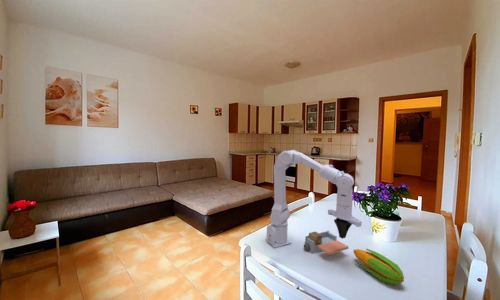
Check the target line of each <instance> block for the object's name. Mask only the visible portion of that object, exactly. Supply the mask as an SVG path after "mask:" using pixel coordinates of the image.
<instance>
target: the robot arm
mask: <svg viewBox="0 0 500 300" xmlns="http://www.w3.org/2000/svg"><path fill="white" fill-rule="evenodd" d="M294 164H295V165H297V164H299V165H300V164H303V165H304V166H306V167H308V168H310V169H311V170H314V171H316V172H318V173H319V176H320V177H321V178H322V179H325V180H326V181H328V182H330V183H332V184H334V185H336V188H337V193H336V208H335V209H332V208H331V209H327V215H328V216H333V217H336V218H335V219H334V220H333V222H334V224H335V225H336V228H337V232H338V236H339V238H341V239H342V240H343V239H345V238H346V237H347V234H348V231H349V230H350V228H351V226H352V225H354V226H355V227H356V228H359V227H362V220H361V219H358V218H356V217H354V216H353V213H352V212H353V210H352V209H353V185H354V184H355V179H354V176H352V175H350V174H349V173H345V172H344V170H341V171H340V170H339V169H336V168H335V167H334V165H333V164H324V165H323V164H321V163H319V162H317V161H316V160H314V159H313V158H311V157H310V156H307V155H306V154H304V153H302V152H300V151H297V150H295V149H291V150H283V151H282V152H280V153H279V154H278V155H277V159H276V161H275V163H274V165H273V190H274V191H273V194H274V195H273V197H274V200H273V201H274V203H273V206H272V208H271V214H270V216H269V219H270V222H271V223H270V224H268V225H267V227H266V238H265V241H266V242H267V243H268V244H270V245H271V246H272V247H273V248H278V247H282V246H285V245H286V246H287V245H290V244H291V243H292V242H291V241H290V240H289V239H288V229H289V227H288V226H289V222H288V220H289V218H291V213H290V210H289V205H288V204H287V198H286V197H287V195H286V194H287V191H286V190H287V189H286V181H287V180H286V170H287V169H288V168H289V167H291V166H292V165H294Z"/></svg>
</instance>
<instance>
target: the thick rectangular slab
mask: <svg viewBox="0 0 500 300" xmlns="http://www.w3.org/2000/svg"><path fill="white" fill-rule="evenodd" d="M318 248H319V249H320V250H322V251H321V252H324V254H327V255H328V256H330V255H333V254H336V253H339V252H342V251H346V250H348V249H349V245H347V244H344V243H343V242H341V241H339V240H336V241H333V242H329V243H326V244H322V245H318Z"/></svg>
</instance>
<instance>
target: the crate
mask: <svg viewBox="0 0 500 300" xmlns="http://www.w3.org/2000/svg"><path fill="white" fill-rule="evenodd" d="M319 233H320V232H318V231H311V232H309V233H308V236H309V239H311V240H313V241H314V242H315V246H316V245H320V244H322V235H321V234H319Z"/></svg>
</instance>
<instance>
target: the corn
mask: <svg viewBox="0 0 500 300" xmlns="http://www.w3.org/2000/svg"><path fill="white" fill-rule="evenodd" d="M352 252H353V254H354V255H355V257H356V258H357V259H358V260H359V261H358V260H357V259H354V262H355V263H357V264H358V265H359V266H360V267H361V268H362V269H364V270H365V271H366V272H369V274H371V275H372V276H374V277H375V278H377V279H378V280H380V281H381V282H383V283H385V284H390V285H400V284H402V283H403V282H405V276H404V273H403V271H402V269H401V268H400V266H399V265H398V264H397V263H395V262H394V261H393V260H391V259H389V258H387V257H386V256H385V255H383V254H381V253H378V252H377V251H375V250H372V249H368V248H365V249H364V250H363V249H359V248H357V249H356V248H355V249H353V251H352Z"/></svg>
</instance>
